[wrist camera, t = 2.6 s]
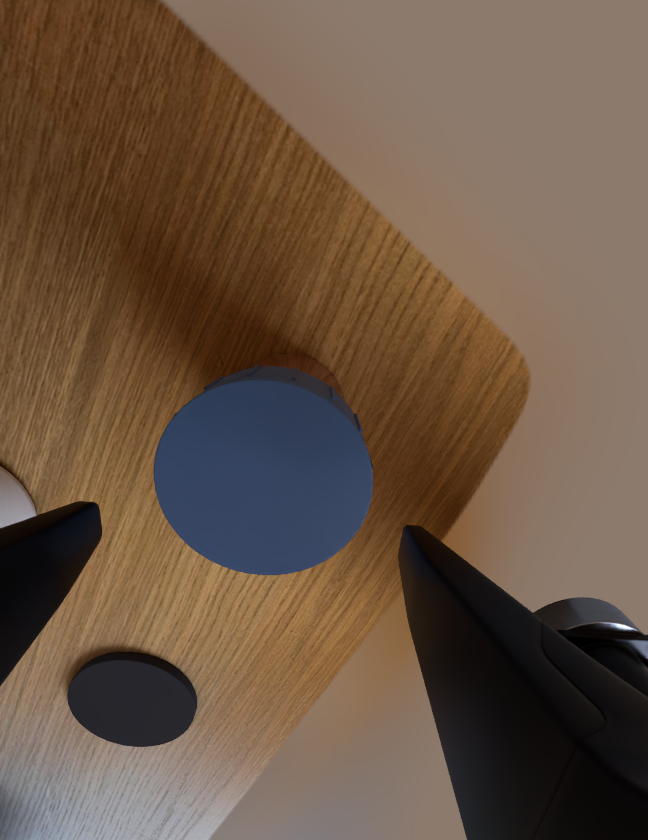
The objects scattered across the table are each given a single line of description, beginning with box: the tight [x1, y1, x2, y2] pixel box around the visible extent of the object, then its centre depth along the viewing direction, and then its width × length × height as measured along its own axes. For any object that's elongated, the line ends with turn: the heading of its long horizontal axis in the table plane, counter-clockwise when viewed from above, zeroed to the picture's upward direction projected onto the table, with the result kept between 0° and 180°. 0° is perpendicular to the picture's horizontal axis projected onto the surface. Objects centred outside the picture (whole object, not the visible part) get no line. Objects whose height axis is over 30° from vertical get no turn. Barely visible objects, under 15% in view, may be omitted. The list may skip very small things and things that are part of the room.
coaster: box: [67, 652, 197, 747], centre depth 25 cm, size 9×9×1 cm
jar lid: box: [154, 365, 373, 575], centre depth 12 cm, size 7×7×2 cm
